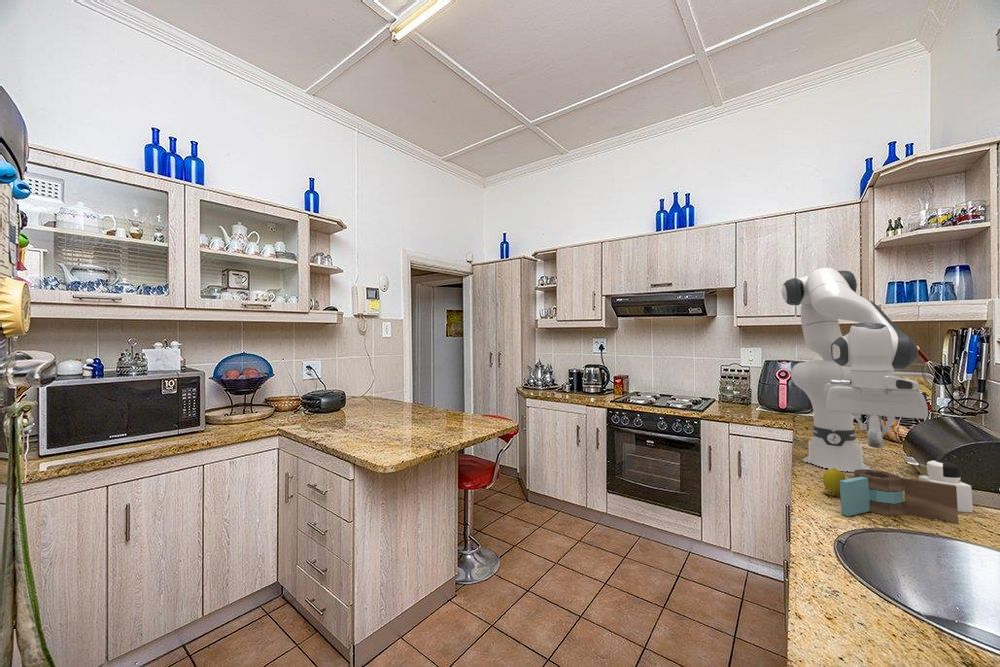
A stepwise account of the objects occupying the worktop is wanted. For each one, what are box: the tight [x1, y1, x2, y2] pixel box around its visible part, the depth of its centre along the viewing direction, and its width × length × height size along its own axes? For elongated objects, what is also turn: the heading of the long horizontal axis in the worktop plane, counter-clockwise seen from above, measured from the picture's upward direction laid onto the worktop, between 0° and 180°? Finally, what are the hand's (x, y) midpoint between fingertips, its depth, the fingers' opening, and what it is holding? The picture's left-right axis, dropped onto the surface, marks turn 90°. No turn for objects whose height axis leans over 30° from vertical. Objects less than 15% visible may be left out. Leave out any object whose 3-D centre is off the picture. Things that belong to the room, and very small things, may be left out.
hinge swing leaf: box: [840, 476, 905, 517], centre depth 105 cm, size 19×9×9 cm, turn 109°
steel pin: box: [865, 415, 884, 449], centre depth 107 cm, size 3×3×11 cm
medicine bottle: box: [918, 460, 974, 514], centre depth 107 cm, size 7×7×12 cm
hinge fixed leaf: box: [854, 469, 959, 525], centre depth 103 cm, size 9×19×9 cm, turn 49°
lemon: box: [822, 468, 847, 496], centre depth 116 cm, size 6×6×8 cm
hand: (874, 431), depth 107 cm, fingers closed on steel pin, 3 cm apart
